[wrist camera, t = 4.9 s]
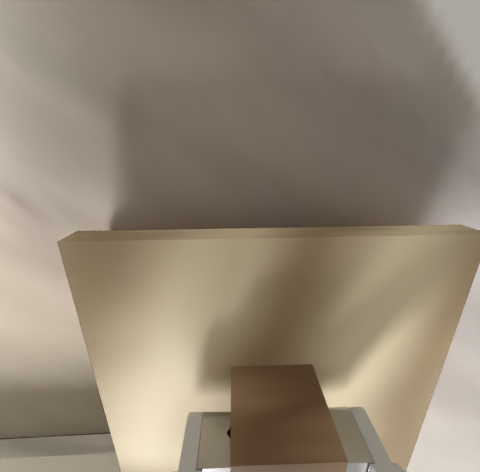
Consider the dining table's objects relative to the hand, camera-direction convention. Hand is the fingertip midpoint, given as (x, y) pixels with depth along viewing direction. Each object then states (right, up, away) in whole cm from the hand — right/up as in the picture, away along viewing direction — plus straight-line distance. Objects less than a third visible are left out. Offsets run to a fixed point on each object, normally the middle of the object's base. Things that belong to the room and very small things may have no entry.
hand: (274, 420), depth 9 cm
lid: (0, +1, +2) cm, 2 cm away
